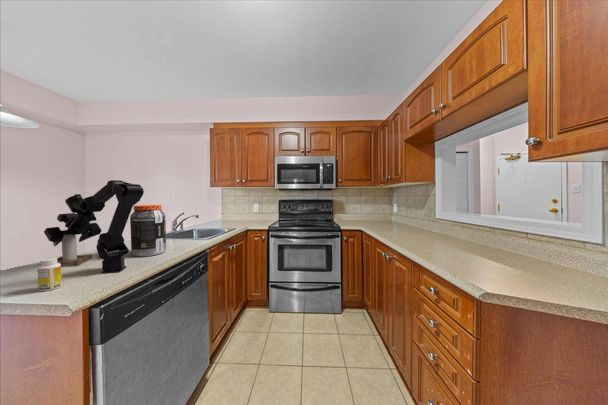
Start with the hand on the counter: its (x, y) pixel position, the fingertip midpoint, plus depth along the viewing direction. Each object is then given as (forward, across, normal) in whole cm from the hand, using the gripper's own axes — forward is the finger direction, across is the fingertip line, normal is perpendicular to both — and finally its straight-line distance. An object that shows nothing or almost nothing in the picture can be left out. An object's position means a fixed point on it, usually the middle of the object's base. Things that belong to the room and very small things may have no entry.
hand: (67, 243), depth 111 cm
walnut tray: (+6, 0, +7) cm, 9 cm away
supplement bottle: (-15, +20, +28) cm, 37 cm away
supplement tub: (-7, -25, +20) cm, 33 cm away
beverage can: (+5, 0, +6) cm, 8 cm away
